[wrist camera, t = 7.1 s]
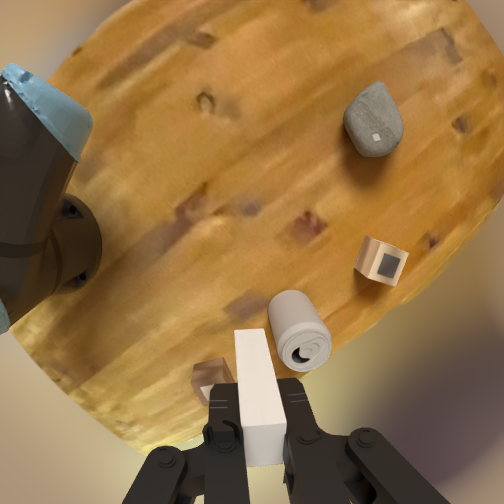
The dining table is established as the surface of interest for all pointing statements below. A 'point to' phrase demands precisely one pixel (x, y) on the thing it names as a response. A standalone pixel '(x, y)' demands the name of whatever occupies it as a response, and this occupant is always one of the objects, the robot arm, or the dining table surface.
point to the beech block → (380, 261)
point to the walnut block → (209, 377)
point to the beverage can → (298, 331)
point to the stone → (374, 121)
